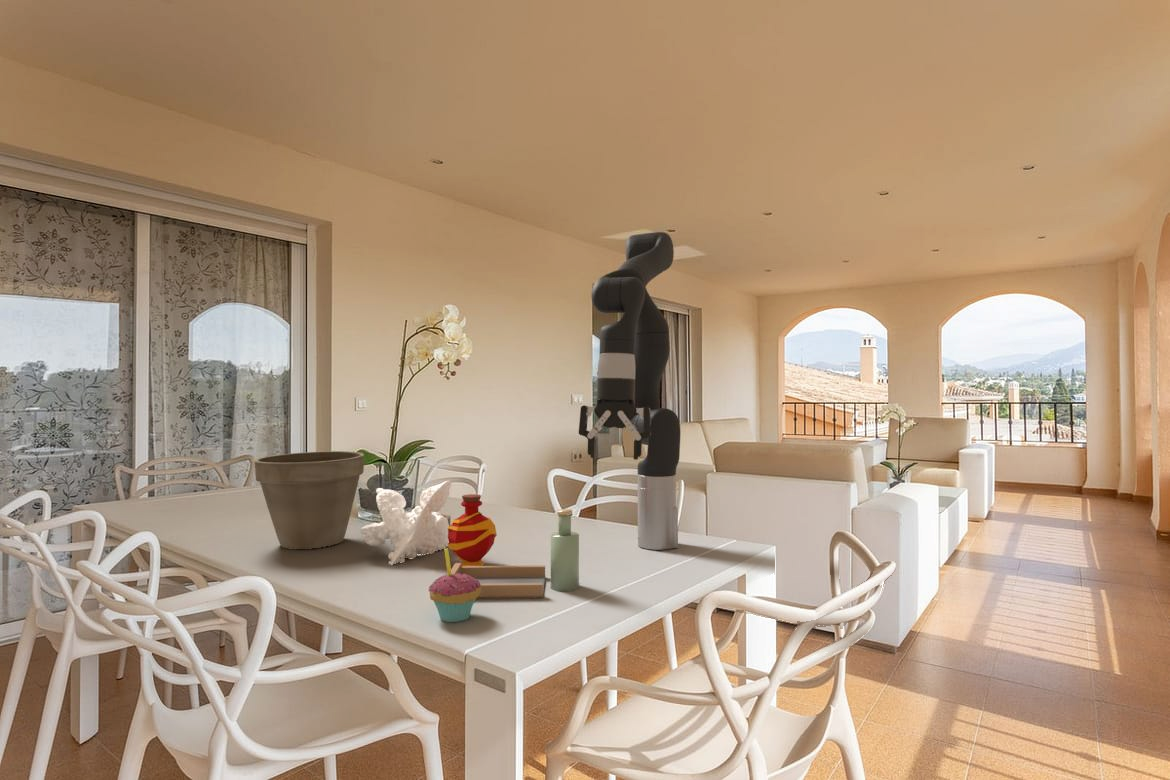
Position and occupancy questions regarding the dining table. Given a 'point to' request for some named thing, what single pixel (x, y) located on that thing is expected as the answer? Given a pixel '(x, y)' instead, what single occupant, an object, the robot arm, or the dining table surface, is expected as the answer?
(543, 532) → the dining table surface
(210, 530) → the dining table surface
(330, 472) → the plant pot
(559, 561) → the bottle
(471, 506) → the potion bottle
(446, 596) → the cupcake
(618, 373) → the robot arm
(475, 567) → the wooden shallow tray
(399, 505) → the white lumpy branched piece
